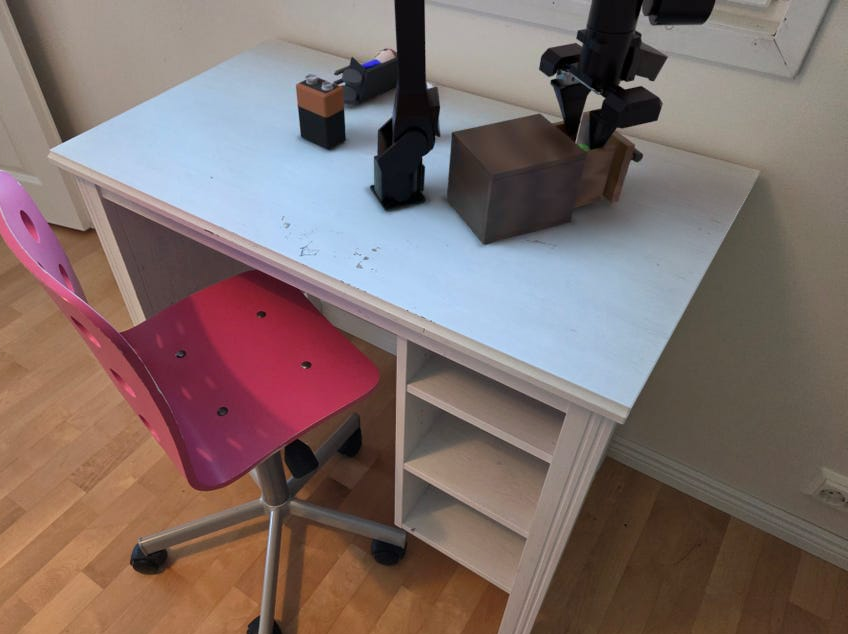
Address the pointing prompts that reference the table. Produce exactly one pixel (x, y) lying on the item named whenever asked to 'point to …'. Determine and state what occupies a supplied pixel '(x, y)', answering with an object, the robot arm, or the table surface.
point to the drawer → (602, 165)
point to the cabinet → (513, 177)
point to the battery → (321, 111)
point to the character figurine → (369, 77)
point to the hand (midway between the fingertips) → (582, 144)
